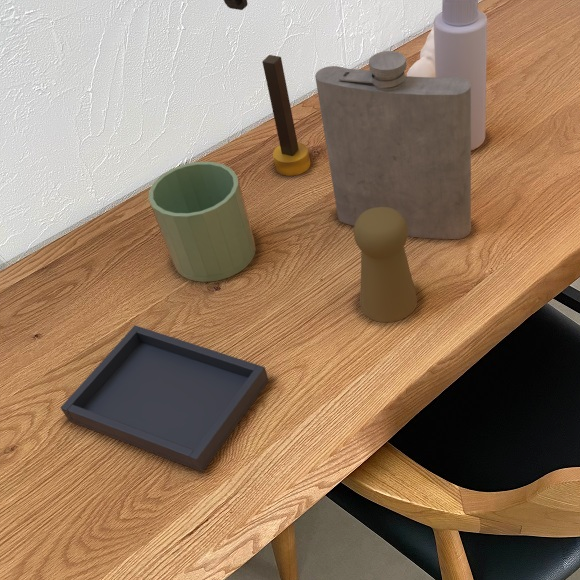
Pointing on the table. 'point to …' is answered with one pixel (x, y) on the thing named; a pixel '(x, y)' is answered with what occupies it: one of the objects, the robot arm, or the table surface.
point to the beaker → (203, 220)
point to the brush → (284, 122)
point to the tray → (167, 396)
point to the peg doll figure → (384, 265)
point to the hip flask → (399, 145)
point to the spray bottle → (464, 55)
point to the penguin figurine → (425, 60)
